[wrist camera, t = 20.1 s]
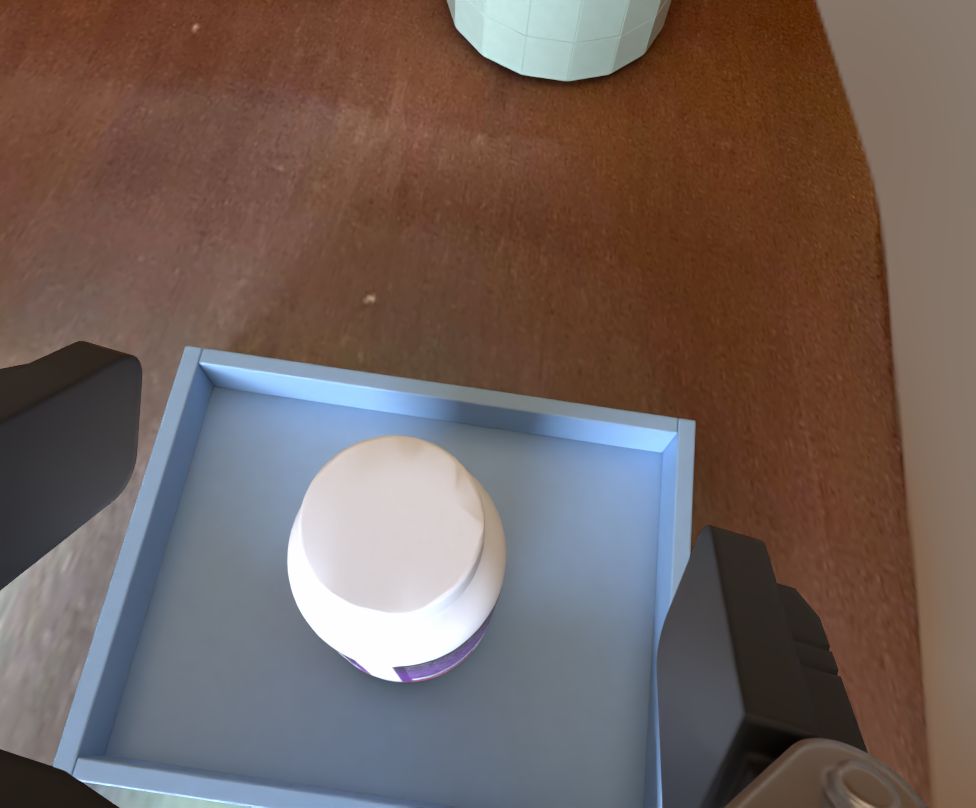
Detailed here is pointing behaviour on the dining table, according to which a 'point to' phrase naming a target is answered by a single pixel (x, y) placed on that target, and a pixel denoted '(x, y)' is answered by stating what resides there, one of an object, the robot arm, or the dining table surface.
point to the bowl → (560, 33)
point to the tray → (327, 674)
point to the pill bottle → (397, 558)
